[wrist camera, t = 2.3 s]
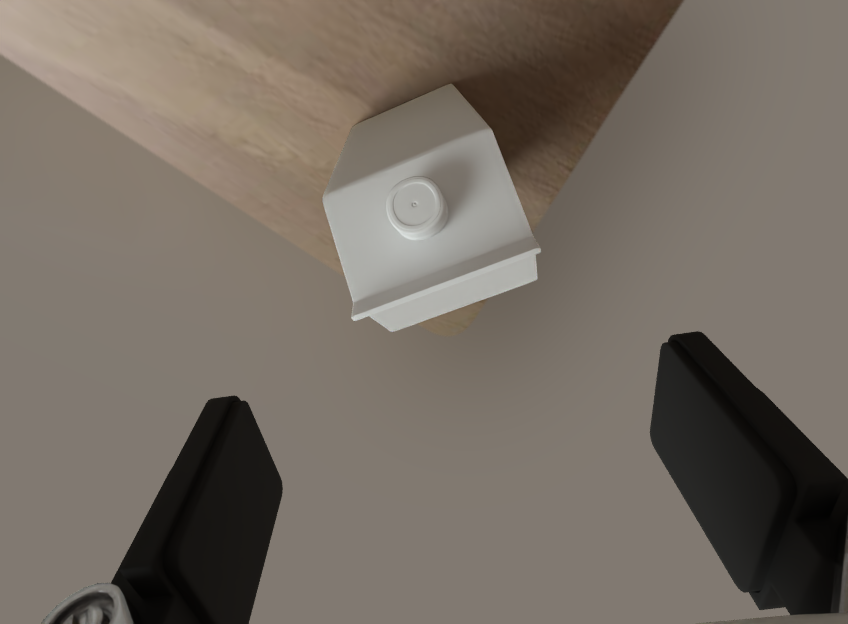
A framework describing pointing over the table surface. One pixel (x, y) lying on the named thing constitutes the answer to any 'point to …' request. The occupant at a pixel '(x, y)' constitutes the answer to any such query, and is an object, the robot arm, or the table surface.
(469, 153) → the milk carton
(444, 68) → the table surface
